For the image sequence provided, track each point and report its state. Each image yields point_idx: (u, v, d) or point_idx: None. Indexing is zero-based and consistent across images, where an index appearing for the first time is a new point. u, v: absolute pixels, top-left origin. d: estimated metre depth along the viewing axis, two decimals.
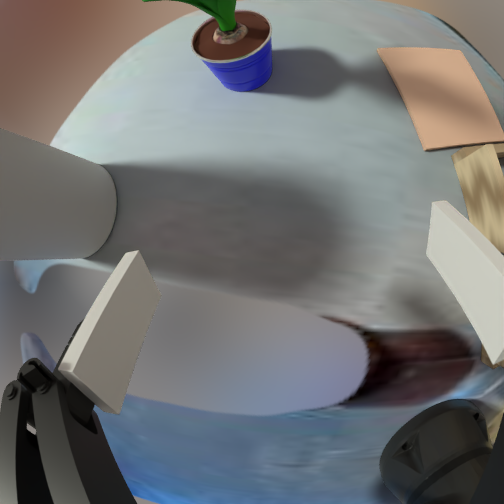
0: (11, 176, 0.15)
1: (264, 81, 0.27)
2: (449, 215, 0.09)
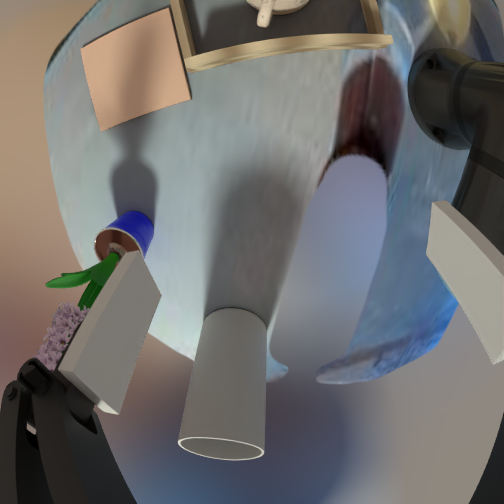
0: (220, 381, 0.37)
1: (145, 217, 0.41)
2: (449, 215, 0.09)
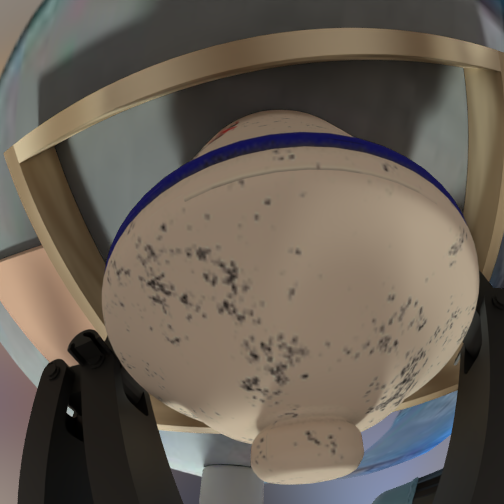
0: None
1: None
2: None
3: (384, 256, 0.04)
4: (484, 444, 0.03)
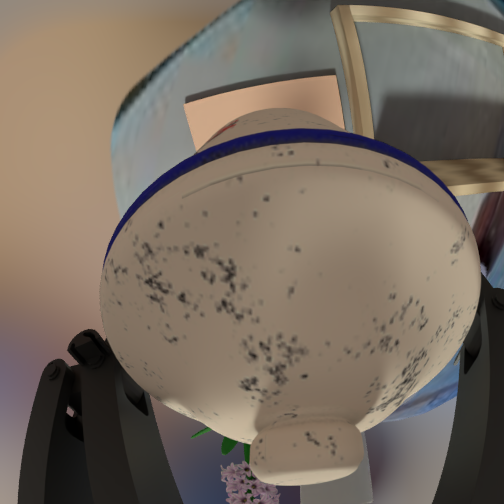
0: None
1: None
2: None
3: (385, 255, 0.03)
4: (484, 444, 0.03)
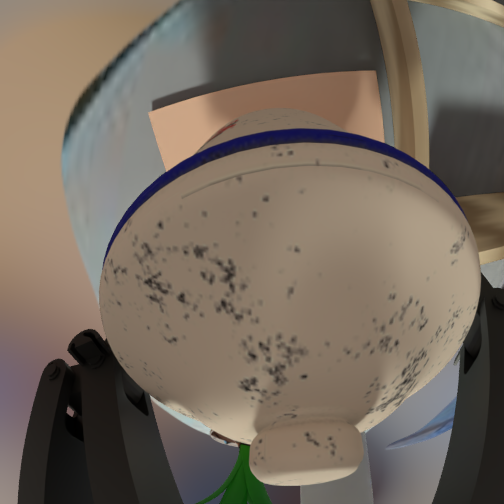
0: None
1: None
2: None
3: (384, 255, 0.03)
4: (484, 444, 0.03)
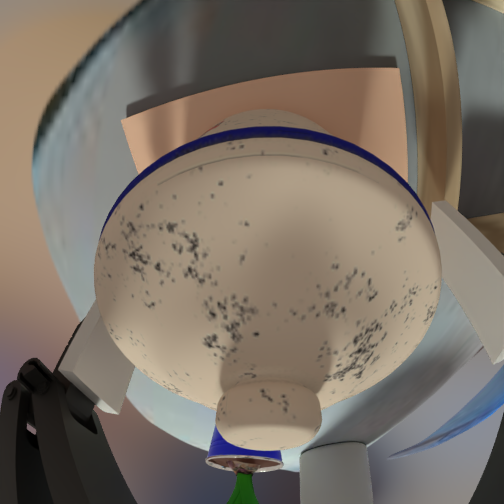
0: None
1: None
2: (449, 215, 0.09)
3: (325, 228, 0.04)
4: None
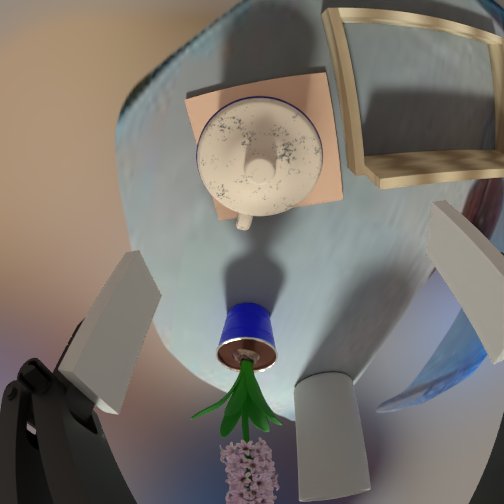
0: (337, 445, 0.36)
1: (264, 309, 0.39)
2: (449, 215, 0.09)
3: (271, 116, 0.17)
4: None
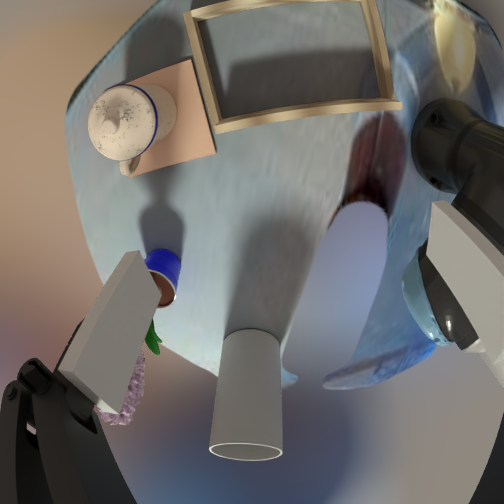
0: (244, 395, 0.43)
1: (173, 255, 0.46)
2: (449, 215, 0.09)
3: (120, 95, 0.24)
4: None
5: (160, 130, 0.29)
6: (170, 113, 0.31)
